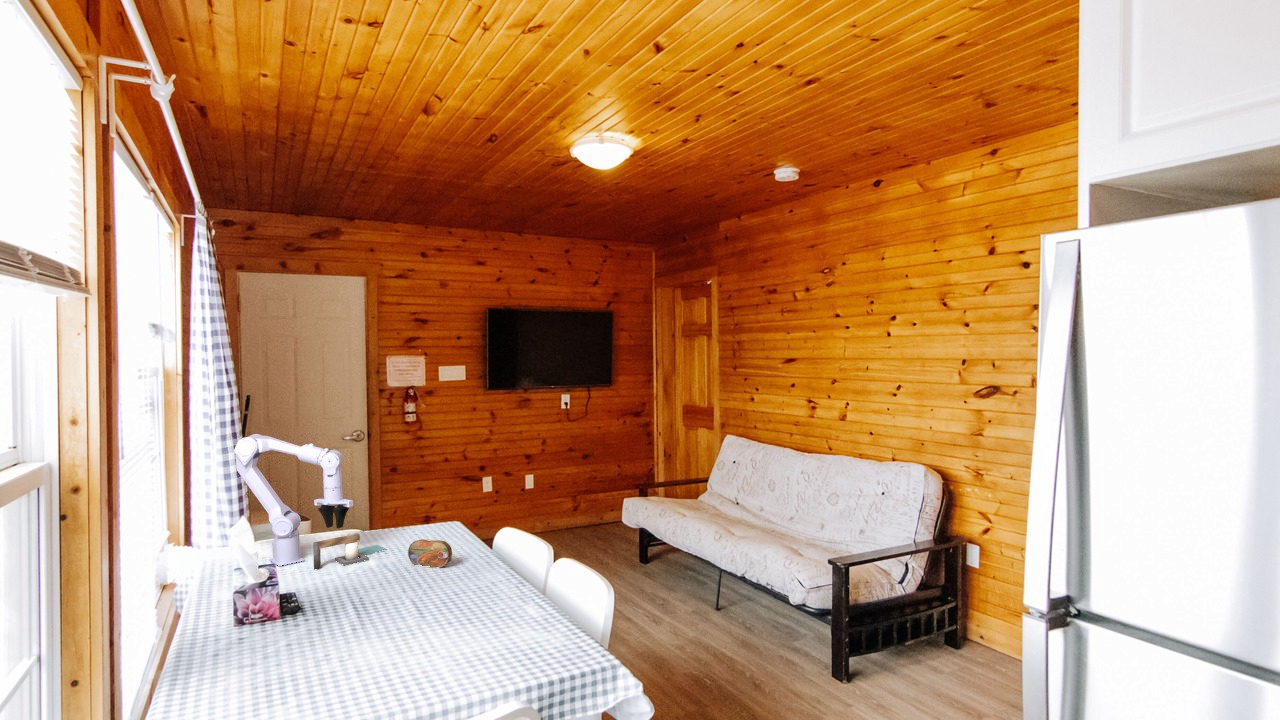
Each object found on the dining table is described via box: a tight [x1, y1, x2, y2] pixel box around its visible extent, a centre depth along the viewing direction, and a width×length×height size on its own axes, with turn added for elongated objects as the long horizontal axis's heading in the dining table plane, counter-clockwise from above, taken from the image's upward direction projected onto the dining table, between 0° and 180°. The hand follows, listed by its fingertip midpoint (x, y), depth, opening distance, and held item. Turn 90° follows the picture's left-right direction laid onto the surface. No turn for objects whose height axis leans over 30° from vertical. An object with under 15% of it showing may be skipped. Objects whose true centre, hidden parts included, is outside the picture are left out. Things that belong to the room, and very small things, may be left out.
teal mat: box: [358, 544, 388, 556], centre depth 235 cm, size 8×8×1 cm
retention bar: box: [312, 532, 361, 570], centre depth 221 cm, size 14×2×8 cm, turn 135°
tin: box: [407, 539, 453, 569], centre depth 218 cm, size 15×3×8 cm, turn 73°
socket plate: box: [334, 552, 370, 567], centre depth 225 cm, size 8×8×1 cm
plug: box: [344, 541, 359, 561], centre depth 225 cm, size 4×4×6 cm
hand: (334, 527), depth 227 cm, fingers open, 4 cm apart
